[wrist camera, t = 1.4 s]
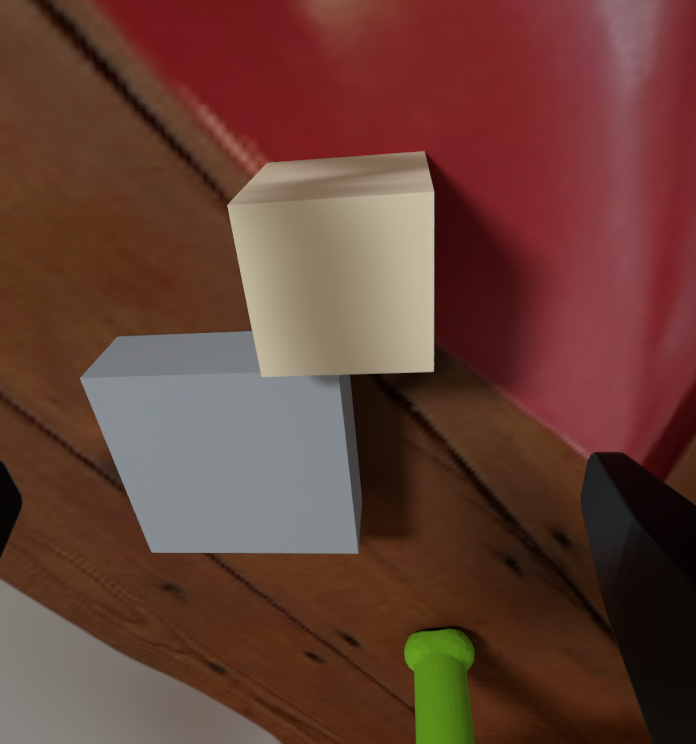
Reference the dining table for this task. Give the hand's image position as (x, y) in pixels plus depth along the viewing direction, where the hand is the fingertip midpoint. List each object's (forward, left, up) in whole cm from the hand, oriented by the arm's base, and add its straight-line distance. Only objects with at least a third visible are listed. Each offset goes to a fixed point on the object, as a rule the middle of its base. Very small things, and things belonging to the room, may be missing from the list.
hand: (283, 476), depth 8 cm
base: (+5, +8, -12) cm, 15 cm away
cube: (0, 0, -12) cm, 12 cm away
